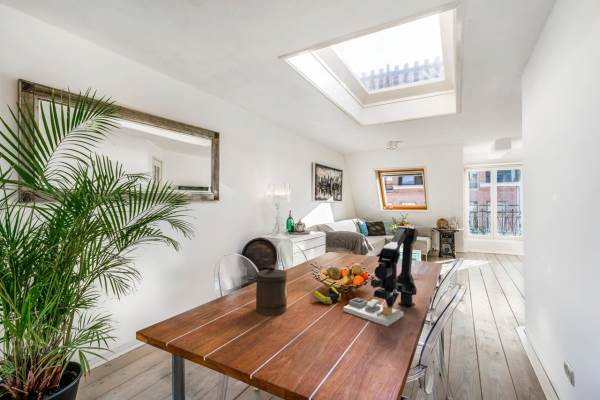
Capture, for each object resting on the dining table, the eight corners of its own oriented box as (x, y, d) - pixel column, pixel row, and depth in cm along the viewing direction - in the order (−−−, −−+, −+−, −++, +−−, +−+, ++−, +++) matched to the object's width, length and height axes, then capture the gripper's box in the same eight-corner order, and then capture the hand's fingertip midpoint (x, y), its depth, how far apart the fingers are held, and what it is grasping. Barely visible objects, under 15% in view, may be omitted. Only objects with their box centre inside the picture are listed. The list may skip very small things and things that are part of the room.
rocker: (373, 300, 138) (373, 298, 138) (379, 302, 136) (378, 300, 136) (366, 306, 134) (366, 304, 134) (372, 308, 132) (372, 306, 132)
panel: (360, 303, 148) (360, 295, 148) (403, 316, 132) (403, 307, 132) (343, 311, 138) (343, 302, 138) (387, 326, 121) (387, 316, 121)
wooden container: (292, 309, 139) (292, 264, 139) (269, 318, 129) (269, 270, 129) (272, 302, 150) (272, 260, 150) (249, 310, 139) (249, 265, 139)
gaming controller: (311, 301, 151) (325, 307, 143) (311, 291, 151) (325, 296, 143) (331, 295, 161) (345, 300, 153) (331, 285, 161) (345, 290, 153)
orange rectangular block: (384, 312, 131) (385, 305, 131) (392, 314, 128) (392, 307, 128) (382, 313, 129) (382, 306, 129) (390, 315, 127) (390, 308, 127)
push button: (357, 302, 143) (357, 298, 143) (364, 304, 141) (364, 300, 141) (352, 304, 141) (352, 300, 141) (359, 306, 138) (359, 302, 138)
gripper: (384, 268, 142) (384, 299, 142) (363, 275, 129) (363, 309, 129) (405, 272, 134) (405, 305, 134) (385, 280, 121) (385, 317, 121)
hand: (389, 309), depth 130 cm, fingers closed
